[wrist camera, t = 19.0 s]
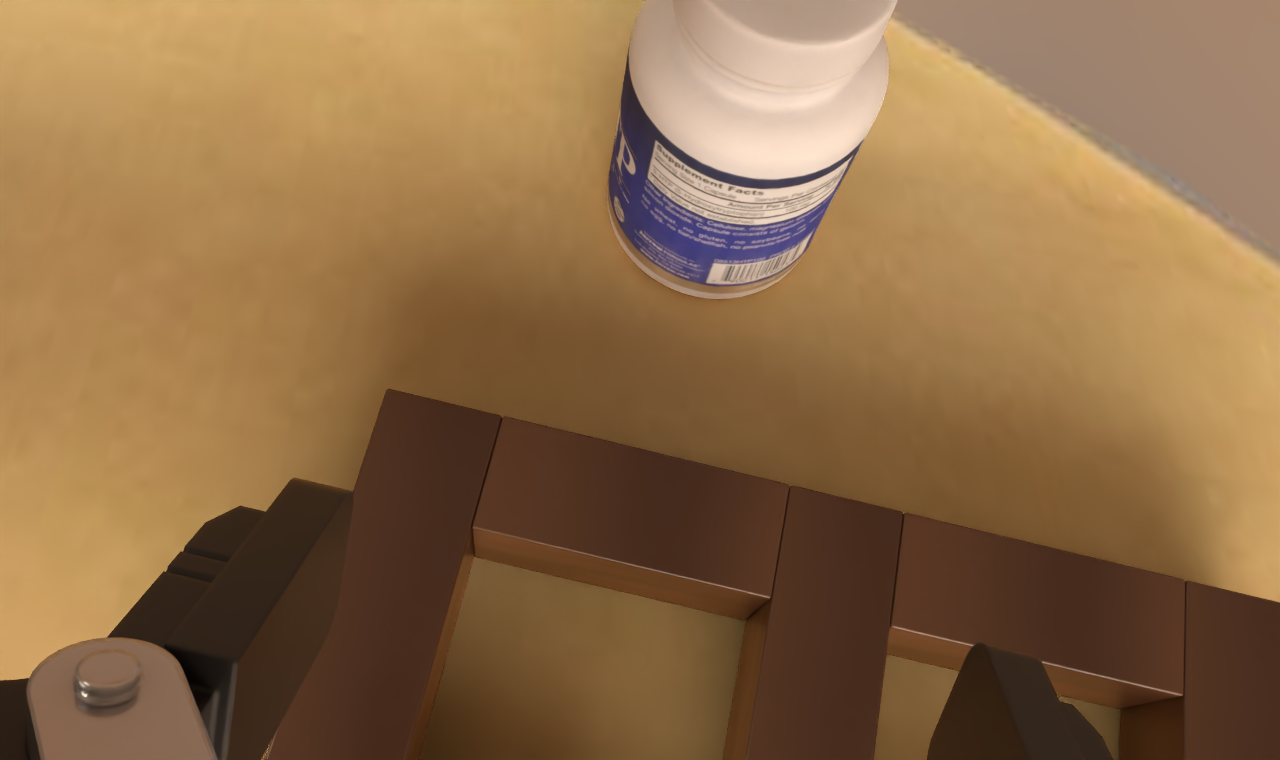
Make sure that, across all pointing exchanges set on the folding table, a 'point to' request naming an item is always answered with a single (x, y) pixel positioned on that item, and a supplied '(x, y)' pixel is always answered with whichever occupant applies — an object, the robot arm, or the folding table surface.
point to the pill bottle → (740, 133)
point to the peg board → (755, 596)
